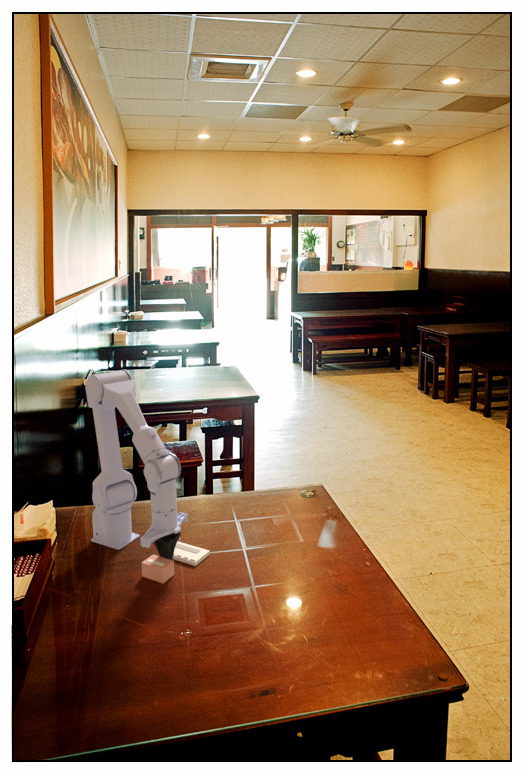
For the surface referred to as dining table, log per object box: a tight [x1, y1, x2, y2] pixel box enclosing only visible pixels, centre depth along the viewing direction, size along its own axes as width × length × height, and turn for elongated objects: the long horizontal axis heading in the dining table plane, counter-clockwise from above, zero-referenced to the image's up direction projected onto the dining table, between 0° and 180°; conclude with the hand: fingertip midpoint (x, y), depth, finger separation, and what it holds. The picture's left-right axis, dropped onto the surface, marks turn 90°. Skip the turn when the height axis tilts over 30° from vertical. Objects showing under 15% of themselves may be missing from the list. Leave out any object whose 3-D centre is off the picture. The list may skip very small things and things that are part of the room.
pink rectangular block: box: [141, 554, 175, 584], centre depth 126 cm, size 6×4×4 cm, turn 61°
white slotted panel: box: [172, 540, 211, 567], centre depth 135 cm, size 10×6×1 cm, turn 61°
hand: (166, 562), depth 129 cm, fingers closed
